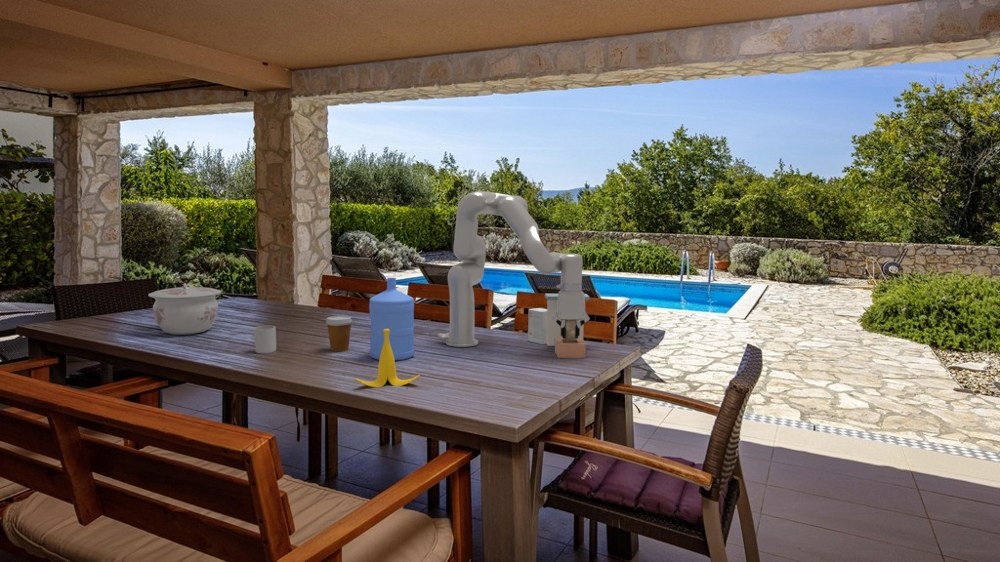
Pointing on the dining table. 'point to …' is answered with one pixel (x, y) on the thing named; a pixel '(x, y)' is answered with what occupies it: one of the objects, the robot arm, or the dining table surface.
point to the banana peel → (386, 367)
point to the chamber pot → (185, 309)
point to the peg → (570, 331)
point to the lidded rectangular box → (552, 326)
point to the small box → (537, 325)
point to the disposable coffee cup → (339, 332)
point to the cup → (265, 339)
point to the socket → (570, 348)
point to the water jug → (392, 322)
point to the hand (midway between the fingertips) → (570, 337)
